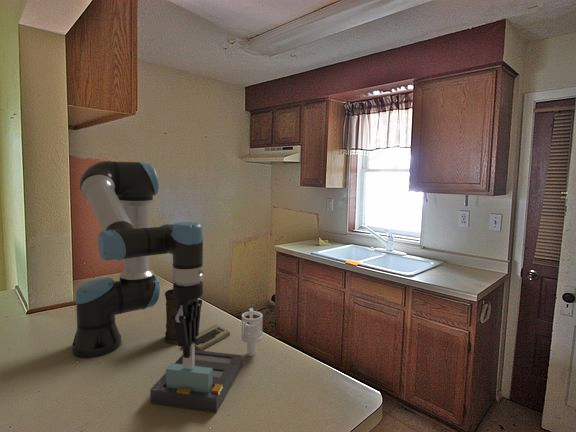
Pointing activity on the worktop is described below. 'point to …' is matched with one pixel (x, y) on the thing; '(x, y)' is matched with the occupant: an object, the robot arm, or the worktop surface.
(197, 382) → the panel
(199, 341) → the computer
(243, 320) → the white ringed cylinder
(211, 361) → the rack
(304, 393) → the worktop surface
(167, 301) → the container
